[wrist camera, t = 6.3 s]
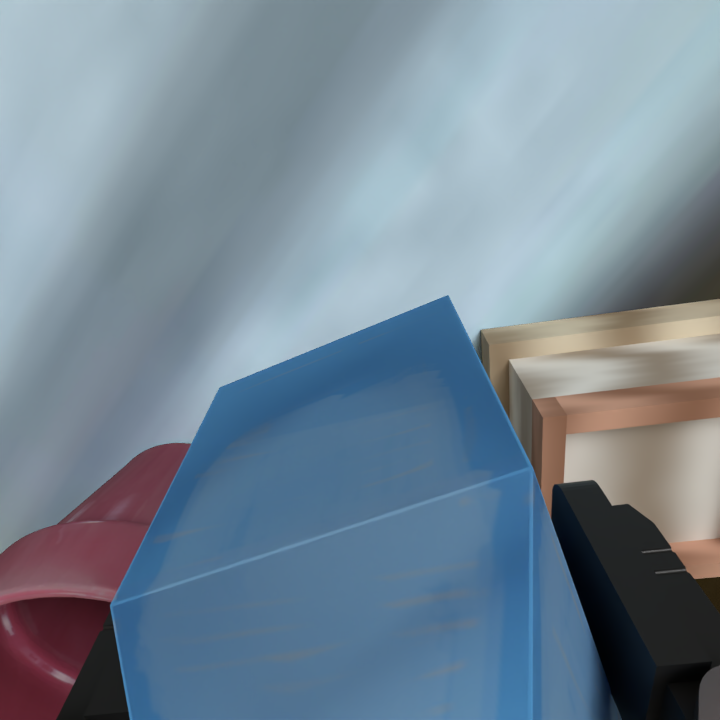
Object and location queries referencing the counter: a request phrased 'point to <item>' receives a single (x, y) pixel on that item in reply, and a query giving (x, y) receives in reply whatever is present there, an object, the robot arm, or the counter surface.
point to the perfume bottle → (358, 551)
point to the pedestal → (623, 413)
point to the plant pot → (72, 584)
